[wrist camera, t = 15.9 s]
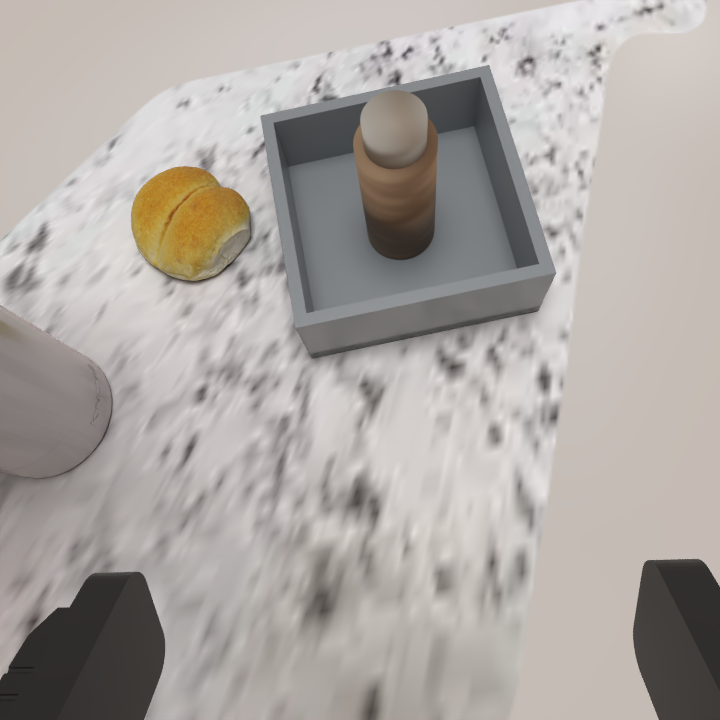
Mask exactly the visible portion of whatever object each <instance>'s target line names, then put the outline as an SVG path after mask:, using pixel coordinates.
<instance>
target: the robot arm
mask: <svg viewBox="0 0 720 720" xmlns="http://www.w3.org/2000/svg"><path fill="white" fill-rule="evenodd" d="M111 404H112V398H111V392H110V387H109V384H108V382H107V379H106V377H105V375H104V374H103V372H102V371H101V370H100V368H99V367H98V366H97V365H96V364H95V363H94V362H92V361H91V360H90V359H89V358H87V357H85V356H84V355H82V354H80V353H79V352H77V351H75V350H74V349H72V348H70V347H69V346H67V345H65V344H64V343H62V342H60V341H59V340H57V339H56V338H54V337H52V336H51V335H49V334H47V333H46V332H44V331H42V330H41V329H39V328H37V327H36V326H34V325H32V324H31V323H29V322H27V321H26V320H24V319H22V318H21V317H19V316H17V315H16V314H14V313H12V312H11V311H9V310H7V309H6V308H4V307H2V306H1V305H0V472H3V473H8V474H13V475H18V476H23V477H28V478H46V477H51V476H56V475H59V474H61V473H64V472H66V471H68V470H70V469H72V468H73V467H75V466H76V465H78V464H79V463H81V462H82V461H83V460H84V459H85V458H86V457H88V456H89V455H90V454H91V453H92V452H93V450H94V449H95V448H96V446H97V445H98V443H99V442H100V441H101V439H102V437H103V435H104V433H105V431H106V429H107V426H108V423H109V419H110V415H111ZM633 640H634V648H635V654H636V659H637V663H638V666H639V670H640V672H641V675H642V678H643V680H644V683H645V685H646V688H647V690H648V693H649V695H650V698H651V700H652V703H653V706H654V708H655V711H656V713H657V716H658V718H659V720H720V587H719V585H718V583H717V582H716V580H715V578H714V577H713V575H712V573H711V572H710V570H709V568H708V567H707V566H706V564H705V563H704V562H703V561H701V560H699V559H682V560H681V559H678V560H648V561H646V562H645V563H644V566H643V570H642V576H641V582H640V589H639V595H638V602H637V608H636V614H635V620H634V628H633ZM164 658H165V638H164V633H163V630H162V627H161V624H160V621H159V618H158V615H157V612H156V609H155V606H154V603H153V600H152V597H151V594H150V591H149V588H148V585H147V582H146V579H145V577H144V576H143V574H142V573H140V572H116V573H94V574H92V575H90V576H89V577H88V578H87V579H86V581H85V582H84V584H83V586H82V587H81V589H80V591H79V592H78V594H77V596H76V598H75V599H74V601H73V603H72V604H71V606H70V607H68V608H57V609H56V610H55V611H54V612H53V613H52V614H51V615H49V616H48V617H47V618H46V619H45V620H44V621H43V622H42V623H41V624H40V625H39V626H38V627H37V628H36V629H35V630H33V631H32V632H31V633H30V634H29V635H28V637H27V638H26V640H25V641H24V643H23V645H22V646H21V648H20V649H19V651H18V653H17V654H16V656H15V657H14V659H13V661H12V662H11V664H10V665H9V670H8V673H7V674H4V675H3V676H2V678H1V680H0V720H144V718H145V716H146V713H147V710H148V708H149V705H150V702H151V700H152V697H153V694H154V692H155V689H156V686H157V684H158V681H159V678H160V676H161V673H162V669H163V664H164Z"/></svg>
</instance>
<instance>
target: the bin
mask: <svg viewBox="0 0 720 720" xmlns="http://www.w3.org/2000/svg"><path fill="white" fill-rule="evenodd" d="M391 90H401V91H406V92H409V93H411V94H413V95H415V96H417V97H418V98H419V99H420V100H421V101H422V102H423V103H424V105H425V107H426V110H427V114H428V118H429V119H430V120H431V122H432V123H433V125H434V126H435V128H436V131H437V135H438V156H437V180H436V205H435V230H434V236H433V239H432V242H431V243H430V245H429V246H428V248H427V249H426V250H425V251H424V252H422V253H421V254H420V255H418V256H416V257H414V258H411V259H406V260H394V259H389V258H387V257H384V256H382V255H381V254H379V253H378V252H377V251H376V250H375V249H374V248H373V246H372V245H371V243H370V241H369V237H368V232H367V226H366V220H365V214H364V208H363V203H362V197H361V191H360V185H359V179H358V173H357V167H356V161H355V155H354V149H353V140H354V135H355V132H356V130H357V128H358V127H359V125H360V124H361V123H360V117H361V113H362V110H363V108H364V106H365V105H366V104H367V102H368V101H369V100H370V99H372V98H373V97H374V96H376V95H378V94H380V93H383V92H386V91H391ZM261 122H262V128H263V134H264V140H265V146H266V152H267V158H268V164H269V170H270V176H271V182H272V188H273V194H274V200H275V206H276V213H277V219H278V225H279V231H280V237H281V243H282V249H283V255H284V261H285V267H286V273H287V279H288V285H289V291H290V297H291V303H292V309H293V315H294V321H295V327H296V330H297V331H298V333H299V335H300V337H301V339H302V341H303V343H304V344H305V346H306V348H307V350H308V352H309V354H310V355H311V357H312V358H316V357H321V356H326V355H330V354H335V353H340V352H345V351H349V350H354V349H359V348H364V347H369V346H373V345H378V344H383V343H388V342H392V341H397V340H402V339H407V338H412V337H416V336H421V335H426V334H431V333H435V332H440V331H445V330H450V329H455V328H459V327H464V326H469V325H474V324H478V323H483V322H488V321H493V320H498V319H502V318H507V317H512V316H517V315H521V314H526V313H531V312H536V311H538V310H539V308H540V306H541V304H542V301H543V299H544V297H545V295H546V293H547V291H548V289H549V287H550V285H551V283H552V281H553V279H554V276H555V274H556V271H555V268H554V265H553V262H552V258H551V255H550V252H549V249H548V246H547V243H546V240H545V237H544V234H543V231H542V227H541V224H540V221H539V218H538V215H537V212H536V209H535V206H534V203H533V200H532V197H531V193H530V190H529V187H528V184H527V181H526V178H525V175H524V172H523V169H522V166H521V162H520V159H519V156H518V153H517V150H516V147H515V144H514V141H513V138H512V135H511V132H510V128H509V125H508V122H507V119H506V116H505V113H504V110H503V107H502V104H501V101H500V97H499V94H498V91H497V88H496V85H495V82H494V79H493V76H492V73H491V70H490V67H489V65H487V66H483V67H478V68H474V69H469V70H465V71H460V72H456V73H451V74H447V75H442V76H438V77H433V78H429V79H424V80H420V81H415V82H411V83H406V84H402V85H397V86H393V87H388V88H384V89H379V90H375V91H370V92H366V93H361V94H357V95H352V96H348V97H343V98H339V99H334V100H330V101H325V102H321V103H316V104H312V105H307V106H303V107H298V108H294V109H289V110H285V111H280V112H276V113H271V114H267V115H262V116H261Z"/></svg>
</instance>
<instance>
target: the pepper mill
mask: <svg viewBox="0 0 720 720" xmlns="http://www.w3.org/2000/svg"><path fill="white" fill-rule="evenodd" d="M360 123H361V124H360V125H359V127H358V128H357V130H356V132H355V135H354V140H353V149H354V155H355V161H356V167H357V173H358V179H359V185H360V191H361V197H362V203H363V208H364V214H365V220H366V226H367V232H368V237H369V241H370V243H371V245H372V246H373V248H374V249H375V250H376V251H377V252H378V253H379V254H381V255H382V256H384V257H387V258H389V259H394V260H406V259H411V258H414V257H416V256H418V255H420V254H421V253H422V252H424V251H425V250H426V249H427V248H428V246H429V245H430V243H431V242H432V239H433V236H434V230H435V205H436V180H437V156H438V135H437V131H436V128H435V126H434V125H433V123H432V122H431V120H430V119H429V118H428V114H427V110H426V107H425V105H424V103H423V102H422V101H421V100H420V99H419V98H418V97H417V96H415V95H413V94H411V93H409V92H406V91H401V90H391V91H386V92H383V93H380V94H378V95H376V96H374V97H373V98H372V99H370V100H369V101H368V102H367V104H366V105H365V106H364V108H363V110H362V113H361V117H360Z"/></svg>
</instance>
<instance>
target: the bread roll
mask: <svg viewBox="0 0 720 720" xmlns="http://www.w3.org/2000/svg"><path fill="white" fill-rule="evenodd" d="M131 223H132V232H133V235H134V238H135V241H136V245H137V247H138V249H139V251H140V252H141V254H142V256H143V257H144V258H145V259H146V260H147V261H148V262H149V263H150V264H152V265H153V266H155V267H157V268H158V269H160V270H161V271H163V272H164V273H165V274H167V275H169V276H171V277H174V278H177V279H182V280H191V281H197V280H202V279H206V278H209V277H212V276H215V275H217V274H218V273H220V272H221V271H222V270H223V269H224V268H225V267H226V266H227V265H228V264H230V263H231V262H232V261H233V260H234V259H235V258H236V257H237V256H238V254H239V253H240V252H241V250H242V249H243V248H244V247H245V245H246V243H247V242H248V240H249V238H250V234H251V232H250V212H249V207H248V205H247V204H246V202H245V201H244V199H243V198H242V196H241V195H240V194H239V193H237V192H236V191H234V190H232V189H229V188H224V187H221V186H220V184H219V183H218V181H217V180H216V179H215V177H214V176H213V175H211V174H210V173H209V172H207V171H205V170H203V169H200V168H196V167H186V166H183V167H175V168H171V169H169V170H166V171H164V172H162V173H160V174H158V175H156V176H155V177H153V178H152V179H151V180H149V181H148V182H147V183H146V184H145V185H144V186H143V187H142V188H141V189H140V191H139V192H138V194H137V195H136V197H135V200H134V202H133V206H132V212H131Z"/></svg>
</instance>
